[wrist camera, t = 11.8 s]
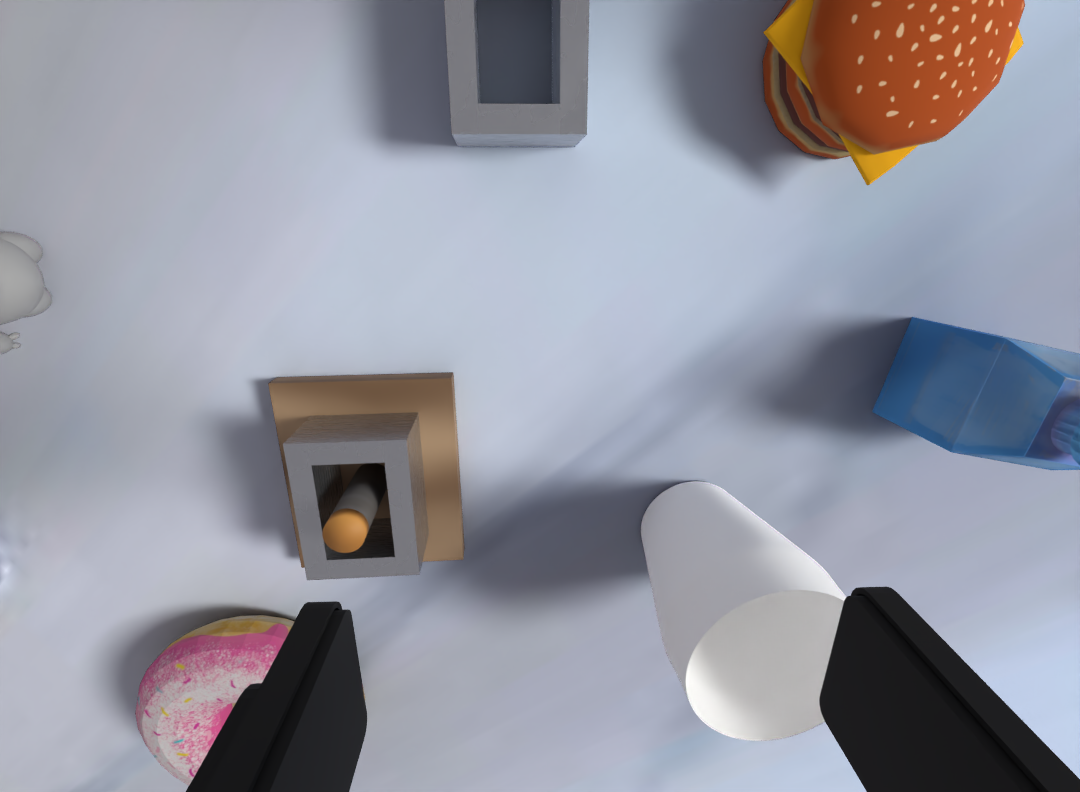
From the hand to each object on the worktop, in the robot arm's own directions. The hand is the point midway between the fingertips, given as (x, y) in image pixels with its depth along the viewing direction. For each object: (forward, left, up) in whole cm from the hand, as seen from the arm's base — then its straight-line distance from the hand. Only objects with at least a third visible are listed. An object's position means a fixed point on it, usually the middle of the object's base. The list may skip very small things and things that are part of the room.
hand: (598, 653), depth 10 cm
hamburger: (-16, +16, -22) cm, 32 cm away
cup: (+11, +10, -22) cm, 27 cm away
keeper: (+7, -10, -22) cm, 25 cm away
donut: (+22, -19, -22) cm, 37 cm away
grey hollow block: (-16, -1, -22) cm, 27 cm away
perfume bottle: (+1, +25, -22) cm, 34 cm away
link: (+6, -10, -21) cm, 24 cm away
